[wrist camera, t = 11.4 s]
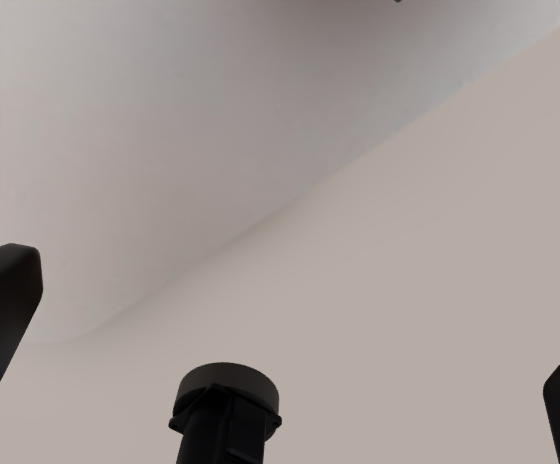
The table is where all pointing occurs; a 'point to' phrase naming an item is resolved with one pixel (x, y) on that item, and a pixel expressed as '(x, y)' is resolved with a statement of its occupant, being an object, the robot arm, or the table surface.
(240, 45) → the table surface
